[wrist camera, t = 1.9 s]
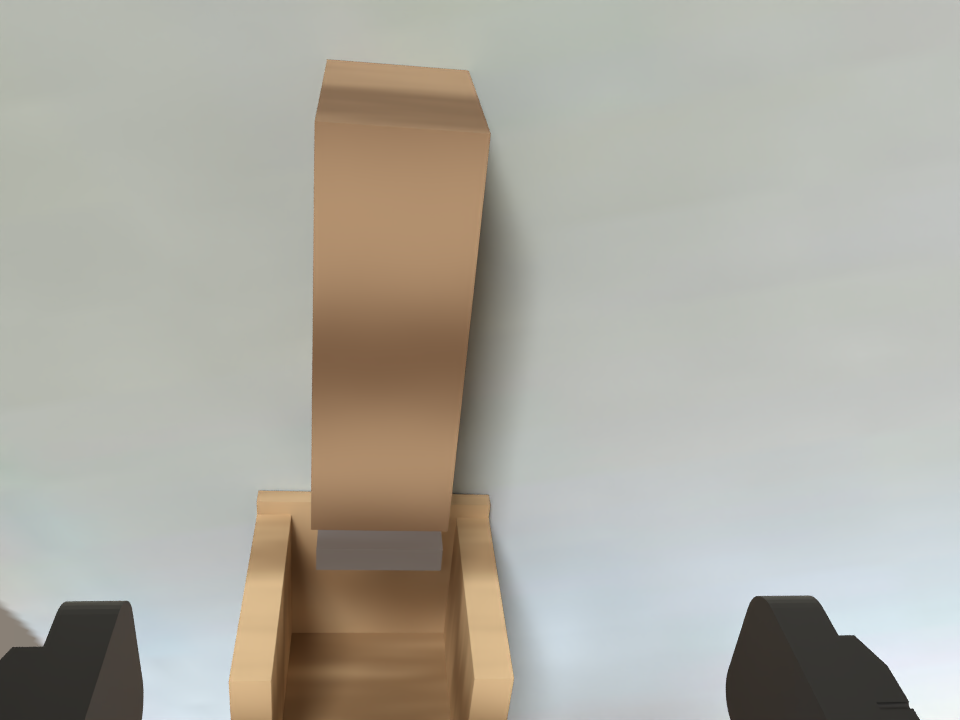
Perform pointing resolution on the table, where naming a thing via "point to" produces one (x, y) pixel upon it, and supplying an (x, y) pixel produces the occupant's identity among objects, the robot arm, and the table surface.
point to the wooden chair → (369, 627)
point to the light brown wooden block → (391, 307)
